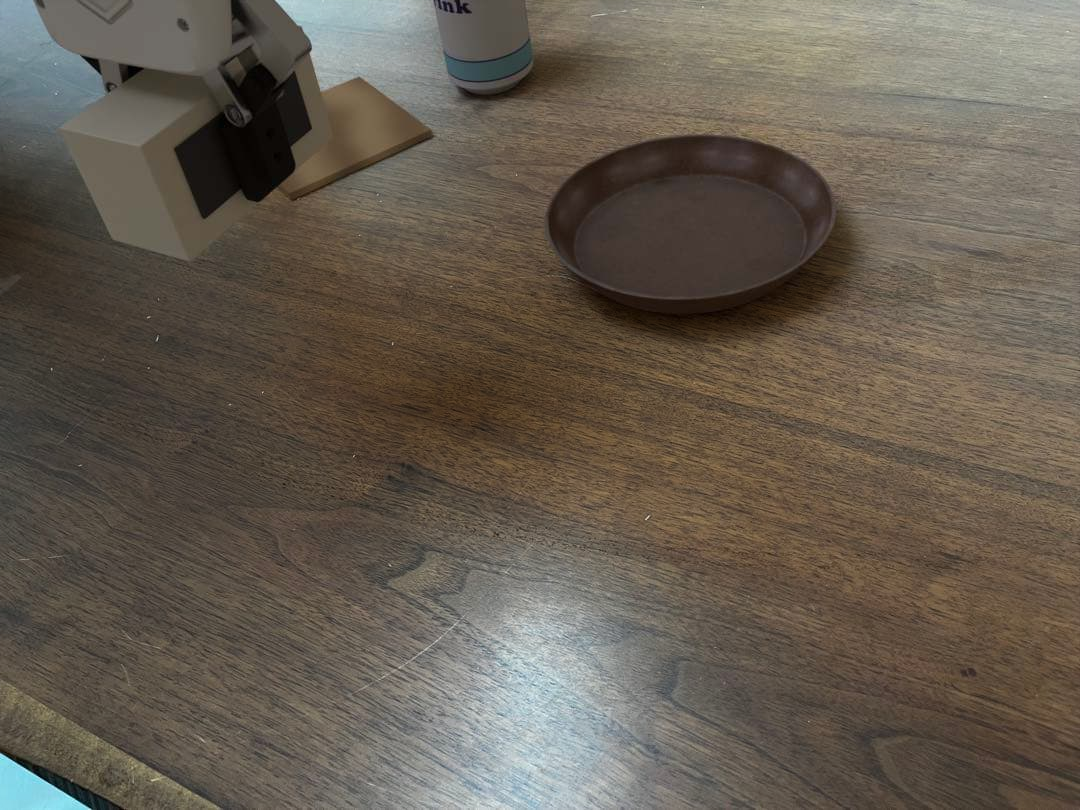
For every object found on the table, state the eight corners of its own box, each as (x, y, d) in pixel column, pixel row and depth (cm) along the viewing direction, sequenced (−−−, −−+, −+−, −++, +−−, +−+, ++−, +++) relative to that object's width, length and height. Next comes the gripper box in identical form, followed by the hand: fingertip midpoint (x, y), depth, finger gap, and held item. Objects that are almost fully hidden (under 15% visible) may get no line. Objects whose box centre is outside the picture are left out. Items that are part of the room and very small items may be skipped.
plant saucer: (605, 156, 77) (602, 118, 75) (858, 185, 71) (862, 144, 69) (506, 312, 66) (498, 272, 64) (795, 362, 60) (797, 320, 58)
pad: (291, 200, 78) (289, 193, 78) (228, 138, 86) (226, 131, 86) (432, 136, 82) (431, 129, 82) (360, 82, 90) (359, 76, 90)
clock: (193, 263, 49) (143, 147, 45) (112, 240, 51) (57, 127, 47) (337, 138, 55) (305, 25, 51) (259, 122, 57) (223, 13, 53)
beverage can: (433, 83, 88) (402, -65, 80) (499, 50, 91) (475, -97, 83) (485, 110, 84) (458, -44, 76) (552, 75, 87) (533, -78, 79)
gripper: (-162, -220, 41) (46, 185, 54) (166, -208, 34) (317, 255, 47) (-10, -277, 46) (150, 110, 58) (309, -277, 39) (412, 164, 51)
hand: (223, 171), depth 52 cm, fingers closed on clock, 5 cm apart
